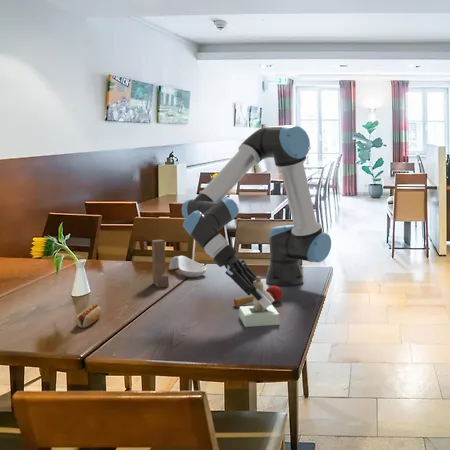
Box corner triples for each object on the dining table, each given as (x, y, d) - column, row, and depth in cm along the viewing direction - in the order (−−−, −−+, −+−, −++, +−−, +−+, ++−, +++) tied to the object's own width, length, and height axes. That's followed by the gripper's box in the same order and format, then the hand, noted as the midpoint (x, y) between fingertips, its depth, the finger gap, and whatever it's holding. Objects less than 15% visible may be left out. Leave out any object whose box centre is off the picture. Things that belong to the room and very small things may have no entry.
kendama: (241, 313, 213) (287, 300, 219) (237, 296, 213) (283, 283, 219) (233, 312, 220) (278, 299, 226) (229, 294, 220) (274, 282, 226)
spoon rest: (212, 276, 264) (211, 260, 263) (188, 280, 257) (188, 264, 256) (183, 267, 283) (183, 252, 282) (161, 271, 277) (160, 255, 276)
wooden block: (168, 287, 246) (167, 242, 244) (157, 288, 245) (156, 243, 242) (163, 282, 255) (162, 239, 252) (153, 283, 253) (151, 240, 251)
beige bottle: (262, 311, 201) (262, 275, 199) (264, 314, 198) (264, 277, 196) (252, 312, 201) (252, 276, 199) (254, 314, 198) (254, 278, 196)
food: (88, 316, 209) (87, 302, 208) (104, 317, 208) (103, 302, 207) (73, 329, 195) (72, 314, 194) (89, 329, 194) (88, 314, 194)
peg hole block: (269, 310, 211) (268, 300, 210) (279, 324, 195) (279, 314, 195) (237, 312, 209) (237, 302, 209) (244, 326, 194) (244, 316, 193)
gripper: (222, 254, 210) (269, 305, 206) (203, 263, 195) (254, 319, 191) (236, 239, 207) (284, 291, 204) (219, 247, 192) (270, 303, 189)
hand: (269, 304), depth 198 cm, fingers closed on beige bottle, 3 cm apart
